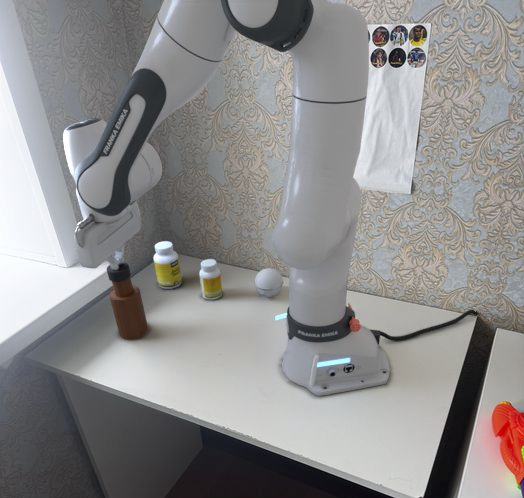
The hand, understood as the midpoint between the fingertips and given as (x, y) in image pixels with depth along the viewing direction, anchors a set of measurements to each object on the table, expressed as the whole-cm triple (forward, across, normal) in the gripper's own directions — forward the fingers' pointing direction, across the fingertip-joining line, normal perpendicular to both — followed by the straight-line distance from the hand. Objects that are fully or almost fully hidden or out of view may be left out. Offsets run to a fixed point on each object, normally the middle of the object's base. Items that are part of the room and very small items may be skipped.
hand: (118, 266), depth 109 cm
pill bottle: (+18, +23, +1) cm, 29 cm away
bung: (+4, 0, 0) cm, 4 cm away
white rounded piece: (+18, +23, -28) cm, 40 cm away
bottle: (+17, 0, 0) cm, 17 cm away
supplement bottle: (+18, +20, -12) cm, 29 cm away
